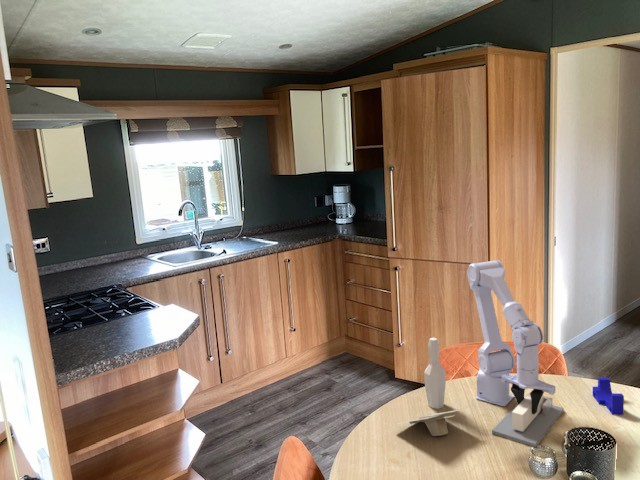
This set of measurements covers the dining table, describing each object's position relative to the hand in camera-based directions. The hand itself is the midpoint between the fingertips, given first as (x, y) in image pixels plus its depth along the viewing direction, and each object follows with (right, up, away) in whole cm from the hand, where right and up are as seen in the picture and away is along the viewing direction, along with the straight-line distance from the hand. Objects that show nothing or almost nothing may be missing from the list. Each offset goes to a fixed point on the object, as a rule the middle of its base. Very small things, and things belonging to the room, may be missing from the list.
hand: (528, 410), depth 150 cm
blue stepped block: (+27, -1, +7) cm, 28 cm away
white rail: (0, -2, 0) cm, 2 cm away
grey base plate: (+1, -4, +1) cm, 4 cm away
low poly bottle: (-23, -3, +15) cm, 28 cm away
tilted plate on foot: (-28, -6, +1) cm, 29 cm away
